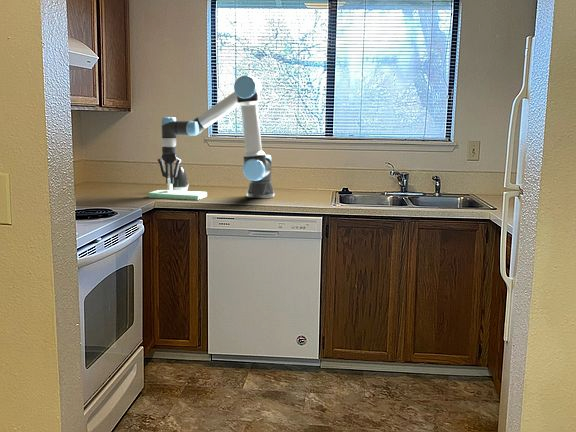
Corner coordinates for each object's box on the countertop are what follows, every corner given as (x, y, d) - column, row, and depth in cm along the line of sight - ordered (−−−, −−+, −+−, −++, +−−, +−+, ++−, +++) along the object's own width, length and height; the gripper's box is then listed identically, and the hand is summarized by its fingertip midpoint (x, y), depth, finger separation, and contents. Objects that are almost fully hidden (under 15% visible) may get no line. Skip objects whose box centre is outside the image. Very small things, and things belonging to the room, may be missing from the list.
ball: (163, 191, 323) (165, 197, 323) (160, 191, 320) (163, 197, 320) (168, 189, 322) (170, 194, 322) (166, 189, 319) (168, 195, 319)
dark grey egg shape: (167, 193, 334) (166, 166, 331) (175, 190, 344) (174, 164, 341) (184, 194, 331) (183, 167, 329) (191, 191, 341) (191, 165, 339)
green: (206, 196, 324) (206, 191, 324) (197, 200, 311) (197, 195, 310) (159, 194, 330) (159, 189, 329) (148, 197, 316) (148, 193, 316)
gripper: (183, 146, 318) (183, 189, 323) (160, 145, 321) (161, 188, 325) (178, 146, 311) (178, 191, 315) (154, 146, 314) (155, 190, 318)
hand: (170, 189), depth 320 cm, fingers closed
